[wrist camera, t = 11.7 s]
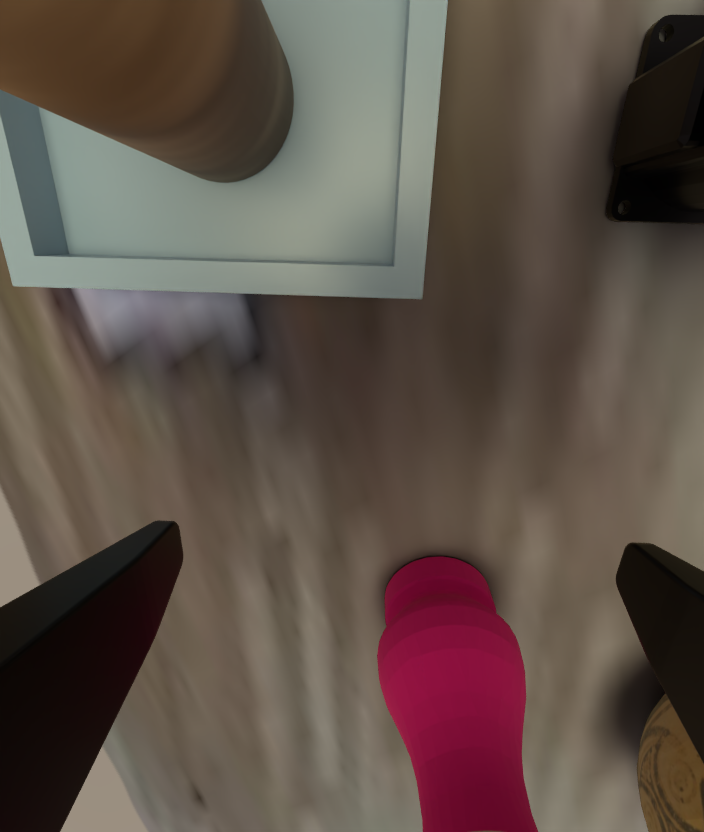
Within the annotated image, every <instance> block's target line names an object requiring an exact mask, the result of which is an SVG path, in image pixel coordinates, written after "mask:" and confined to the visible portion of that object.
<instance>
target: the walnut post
mask: <svg viewBox="0 0 704 832" xmlns="http://www.w3.org/2000/svg"><path fill="white" fill-rule="evenodd" d="M0 90H2V91H5V92H7V93H9V94H11V95H14V96H16V97H18V98H20V99H23V100H25V101H27V102H29V103H32V104H34V105H36V106H38V107H41V108H43V109H45V110H47V111H50V112H52V113H54V114H57V115H59V116H61V117H63V118H66V119H68V120H70V121H72V122H75V123H77V124H79V125H81V126H84V127H86V128H88V129H90V130H93V131H95V132H97V133H99V134H102V135H104V136H106V137H108V138H111V139H113V140H115V141H117V142H120V143H122V144H124V145H126V146H129V147H131V148H133V149H136V150H138V151H140V152H142V153H145V154H147V155H149V156H151V157H154V158H156V159H158V160H160V161H163V162H165V163H167V164H169V165H172V166H174V167H176V168H178V169H181V170H183V171H185V172H187V173H190V174H192V175H194V176H196V177H199V178H202V179H205V180H208V181H213V182H221V183H229V182H237V181H240V180H244V179H247V178H249V177H251V176H253V175H255V174H257V173H258V172H260V171H261V170H263V169H264V168H265V167H266V166H267V165H268V164H270V162H271V161H272V160H273V159H274V158H275V157H276V155H277V154H278V152H279V151H280V149H281V148H282V146H283V144H284V142H285V139H286V137H287V134H288V131H289V129H290V125H291V120H292V116H293V106H294V91H293V83H292V77H291V72H290V68H289V65H288V62H287V59H286V56H285V54H284V51H283V49H282V47H281V44H280V42H279V40H278V38H277V35H276V33H275V31H274V28H273V26H272V24H271V21H270V19H269V17H268V14H267V12H266V10H265V8H264V5H263V3H262V1H261V0H0Z"/></svg>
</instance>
